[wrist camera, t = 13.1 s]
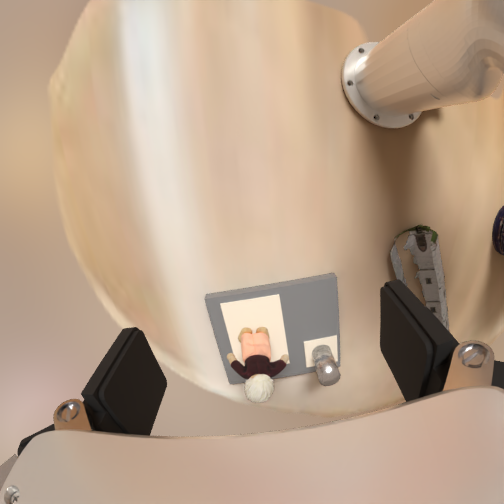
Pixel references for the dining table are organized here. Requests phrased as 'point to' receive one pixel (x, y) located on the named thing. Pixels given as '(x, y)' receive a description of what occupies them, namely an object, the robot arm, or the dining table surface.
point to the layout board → (279, 321)
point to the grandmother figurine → (257, 364)
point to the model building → (425, 269)
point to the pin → (325, 365)
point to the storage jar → (499, 232)
